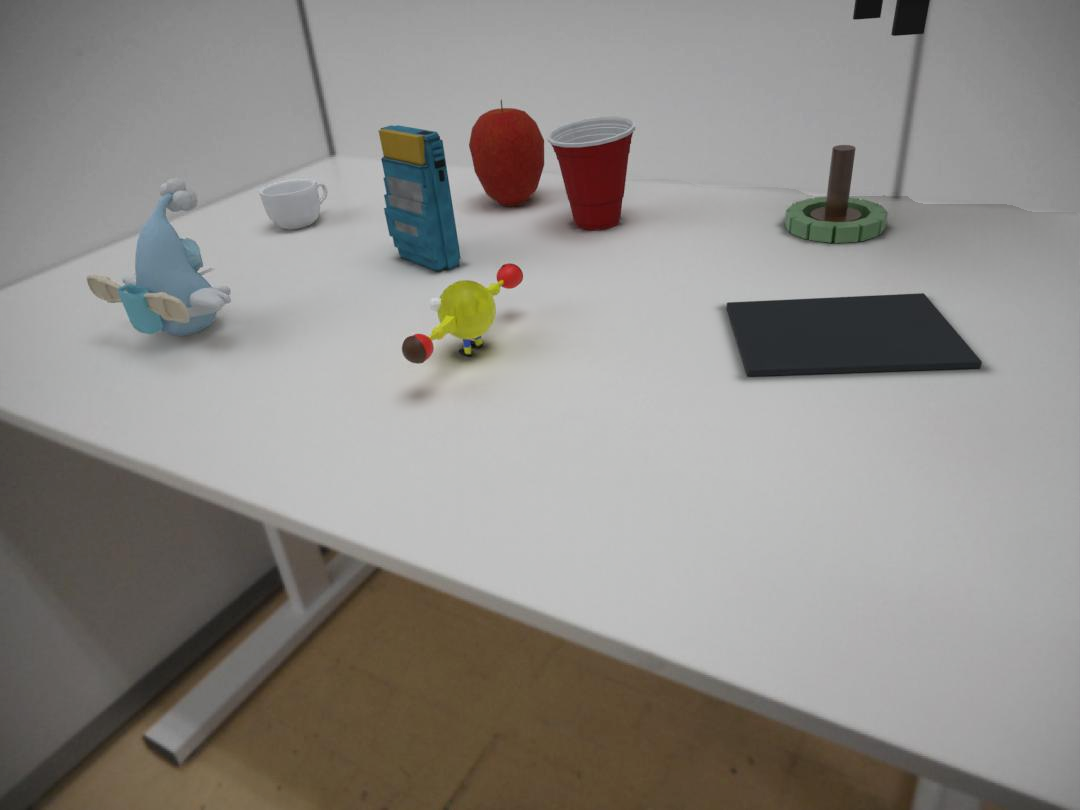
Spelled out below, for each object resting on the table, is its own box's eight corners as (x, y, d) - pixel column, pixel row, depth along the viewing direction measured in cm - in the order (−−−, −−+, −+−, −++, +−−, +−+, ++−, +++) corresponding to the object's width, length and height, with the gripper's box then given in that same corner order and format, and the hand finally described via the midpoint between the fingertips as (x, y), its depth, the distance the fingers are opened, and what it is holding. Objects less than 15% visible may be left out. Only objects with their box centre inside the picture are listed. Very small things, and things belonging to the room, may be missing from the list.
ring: (868, 208, 91) (870, 193, 90) (897, 239, 82) (900, 224, 81) (777, 213, 92) (779, 199, 91) (796, 245, 83) (797, 229, 82)
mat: (922, 298, 70) (923, 292, 69) (980, 368, 59) (982, 361, 58) (726, 307, 72) (726, 302, 71) (747, 376, 61) (748, 370, 60)
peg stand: (852, 216, 89) (863, 139, 84) (865, 233, 84) (878, 152, 80) (804, 219, 90) (812, 143, 85) (814, 235, 85) (824, 155, 80)
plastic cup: (539, 222, 98) (530, 127, 91) (609, 203, 101) (605, 111, 95) (580, 245, 89) (573, 142, 83) (655, 224, 93) (654, 124, 87)
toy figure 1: (284, 323, 78) (240, 180, 70) (198, 369, 71) (138, 216, 63) (189, 298, 86) (140, 167, 78) (103, 337, 79) (40, 197, 71)
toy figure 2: (495, 306, 77) (486, 243, 73) (542, 313, 74) (536, 248, 71) (389, 393, 64) (372, 322, 60) (442, 405, 61) (428, 332, 58)
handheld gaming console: (466, 264, 87) (446, 132, 79) (438, 276, 85) (414, 141, 77) (418, 247, 93) (395, 123, 85) (391, 258, 91) (364, 131, 83)
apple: (562, 196, 106) (555, 92, 99) (517, 218, 100) (505, 109, 92) (508, 188, 112) (497, 89, 105) (462, 208, 106) (447, 104, 98)
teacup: (291, 237, 101) (280, 198, 99) (259, 229, 106) (247, 191, 103) (348, 214, 108) (339, 177, 105) (315, 208, 112) (306, 172, 109)
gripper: (846, -220, 75) (819, 15, 87) (934, -272, 55) (884, 45, 66) (923, -228, 75) (886, 10, 86) (1043, -285, 54) (973, 39, 65)
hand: (885, 26), depth 76 cm, fingers open, 13 cm apart
